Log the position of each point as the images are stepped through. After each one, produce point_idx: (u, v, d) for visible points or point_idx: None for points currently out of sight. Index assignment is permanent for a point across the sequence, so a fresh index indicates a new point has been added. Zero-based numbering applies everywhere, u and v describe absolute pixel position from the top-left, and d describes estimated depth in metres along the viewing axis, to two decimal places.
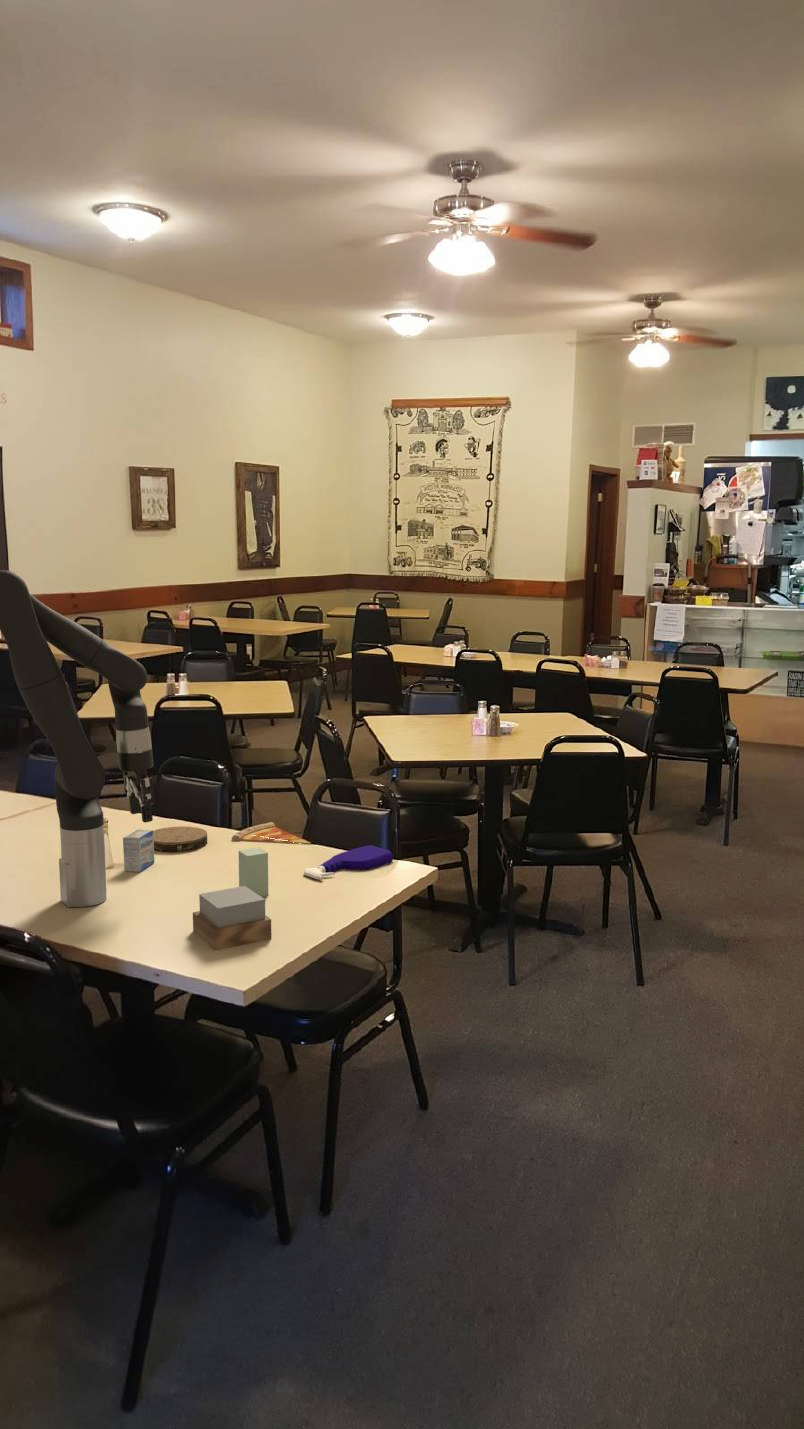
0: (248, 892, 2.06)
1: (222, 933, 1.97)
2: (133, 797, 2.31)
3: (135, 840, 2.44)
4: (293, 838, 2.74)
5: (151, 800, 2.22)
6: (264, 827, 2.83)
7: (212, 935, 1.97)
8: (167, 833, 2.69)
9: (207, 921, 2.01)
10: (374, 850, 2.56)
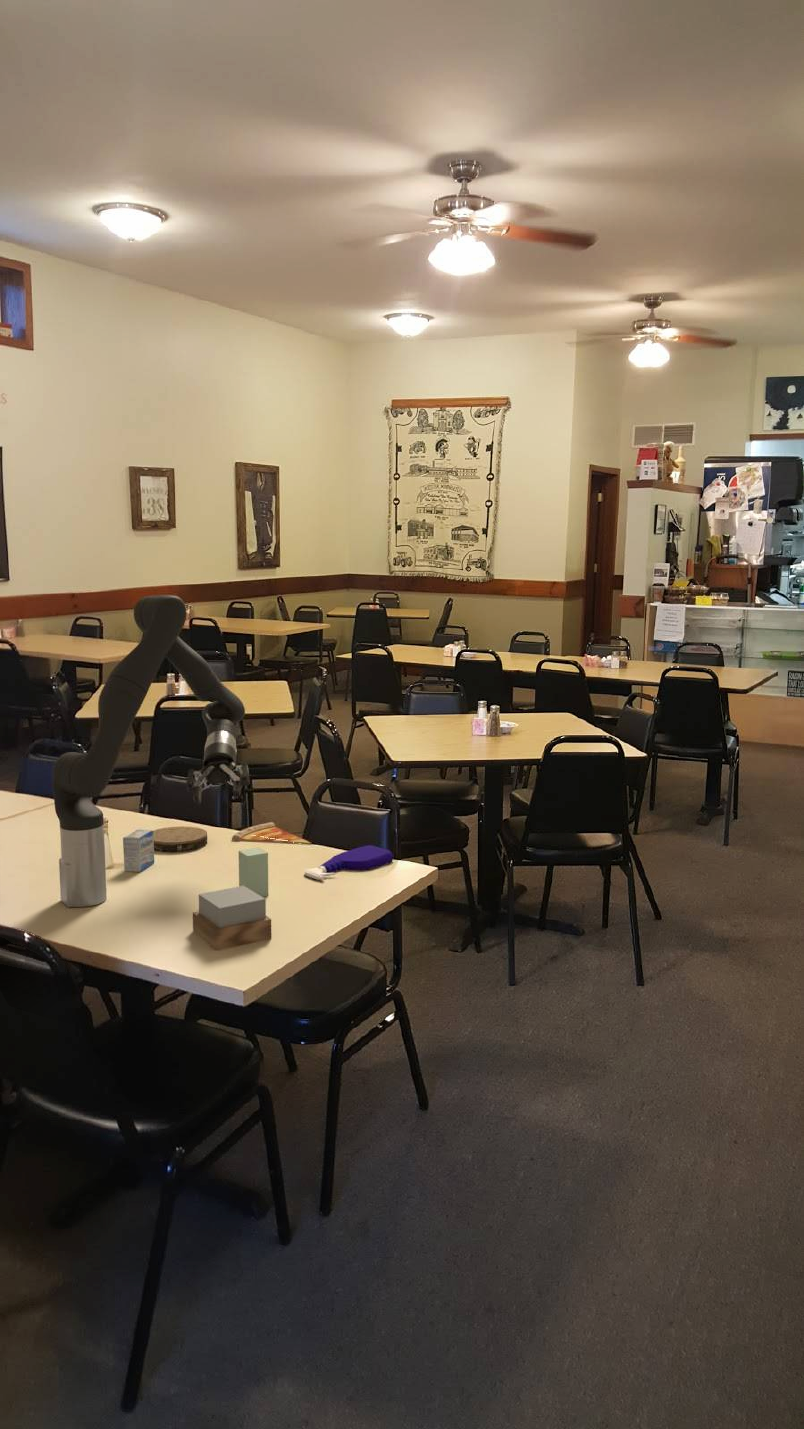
0: (247, 891, 2.06)
1: (222, 933, 1.97)
2: (199, 788, 2.31)
3: (135, 840, 2.44)
4: (293, 838, 2.74)
5: None
6: (264, 827, 2.83)
7: (212, 935, 1.97)
8: (167, 833, 2.69)
9: (207, 921, 2.01)
10: (374, 850, 2.56)
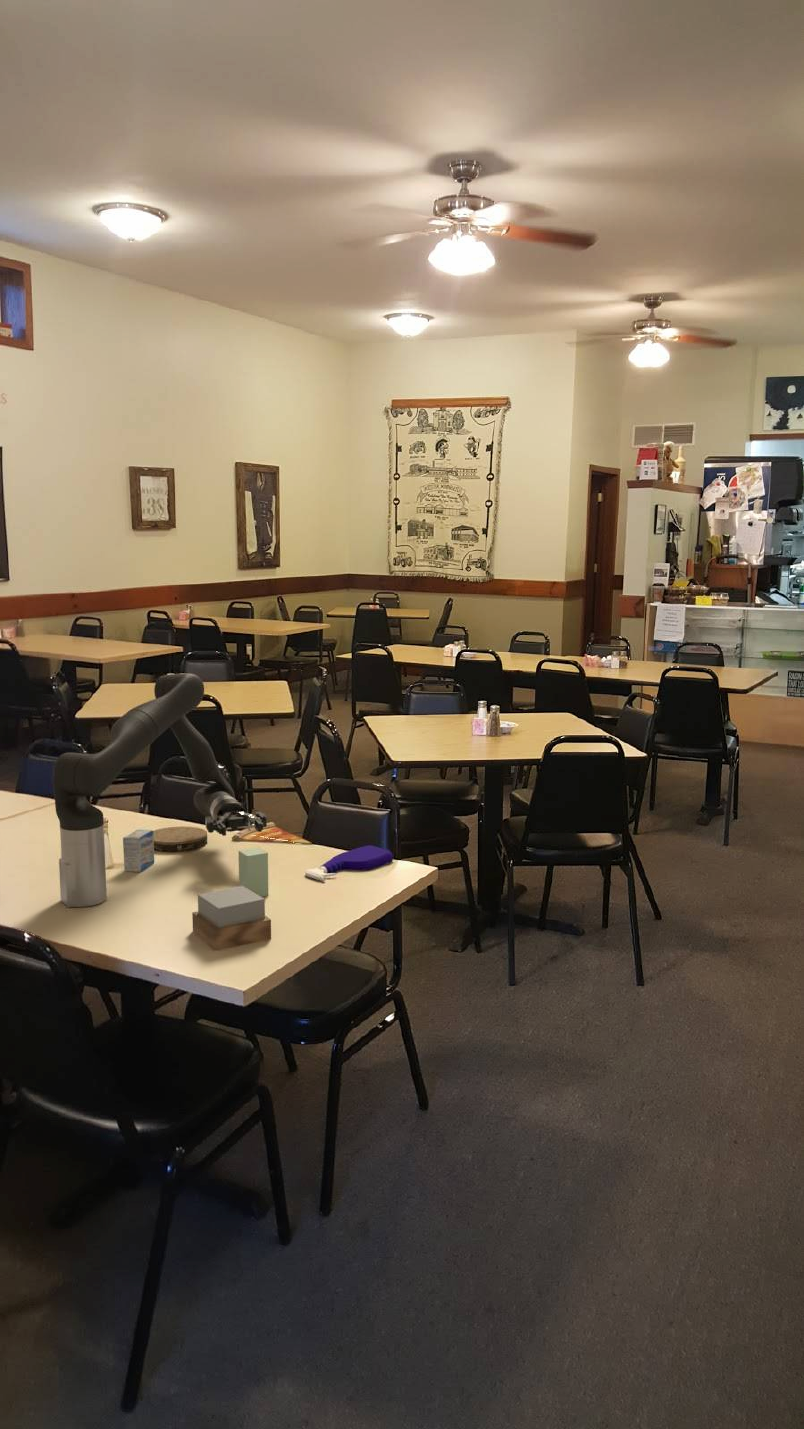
0: (246, 891, 2.07)
1: (222, 933, 1.97)
2: None
3: (135, 840, 2.44)
4: (293, 838, 2.74)
5: None
6: (264, 827, 2.83)
7: (212, 935, 1.97)
8: (167, 833, 2.69)
9: (207, 921, 2.01)
10: (374, 850, 2.56)
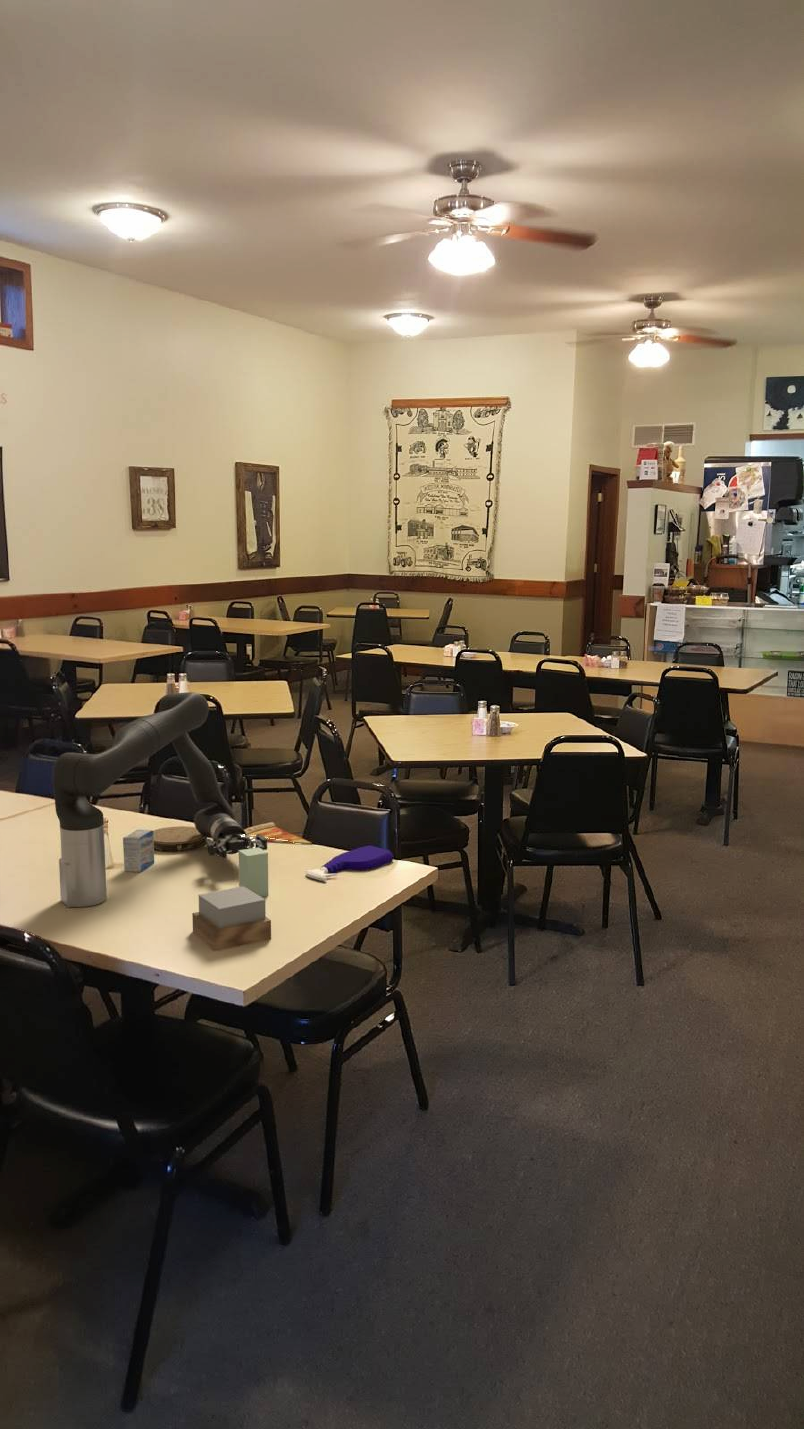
0: (247, 892, 2.07)
1: (222, 934, 1.97)
2: None
3: (135, 840, 2.44)
4: (294, 838, 2.74)
5: None
6: (264, 827, 2.83)
7: (212, 936, 1.97)
8: (167, 833, 2.69)
9: (207, 922, 2.01)
10: (374, 850, 2.56)
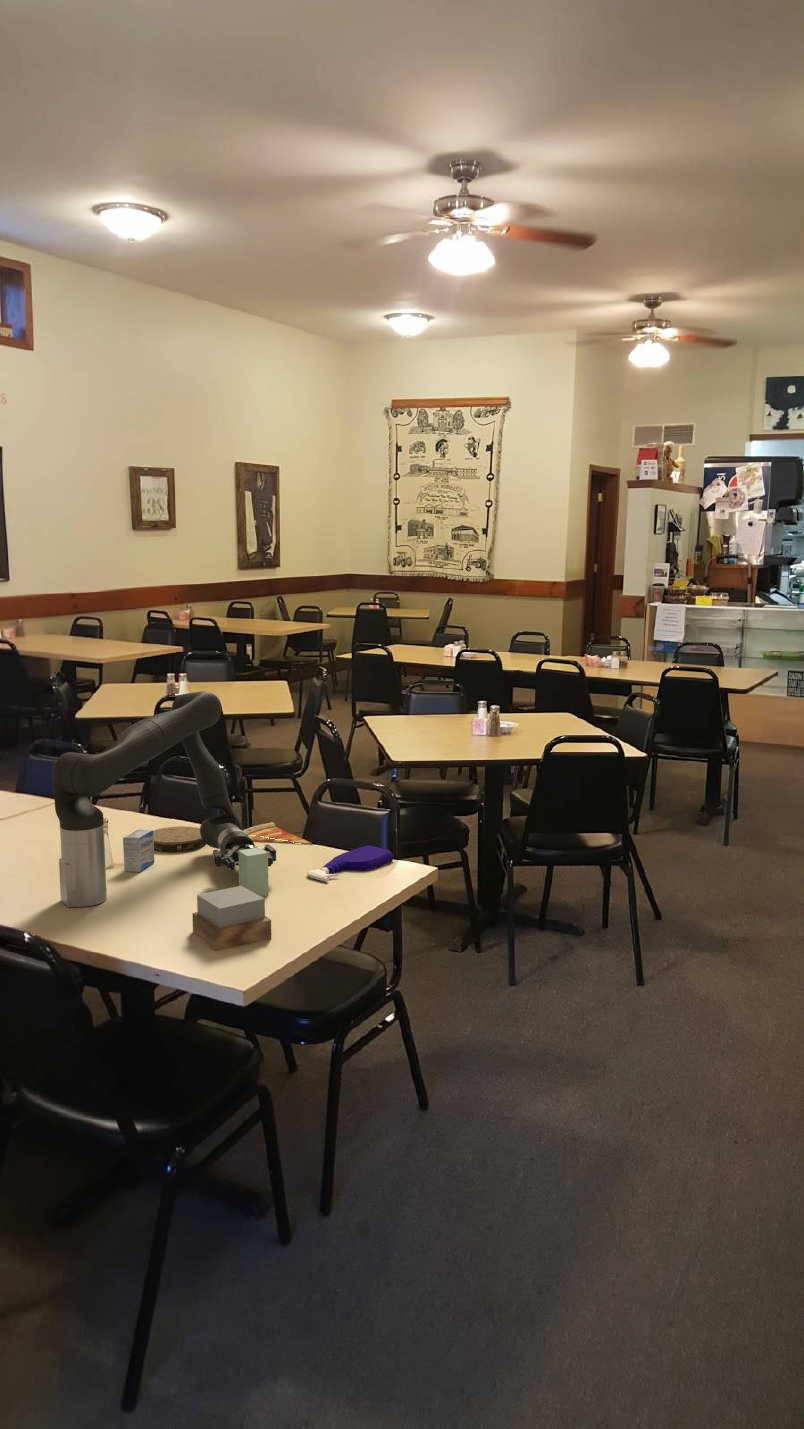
0: (246, 891, 2.07)
1: (222, 934, 1.97)
2: None
3: (135, 840, 2.44)
4: (294, 838, 2.74)
5: None
6: (265, 827, 2.83)
7: (212, 936, 1.97)
8: (167, 833, 2.69)
9: (207, 922, 2.01)
10: (374, 850, 2.56)
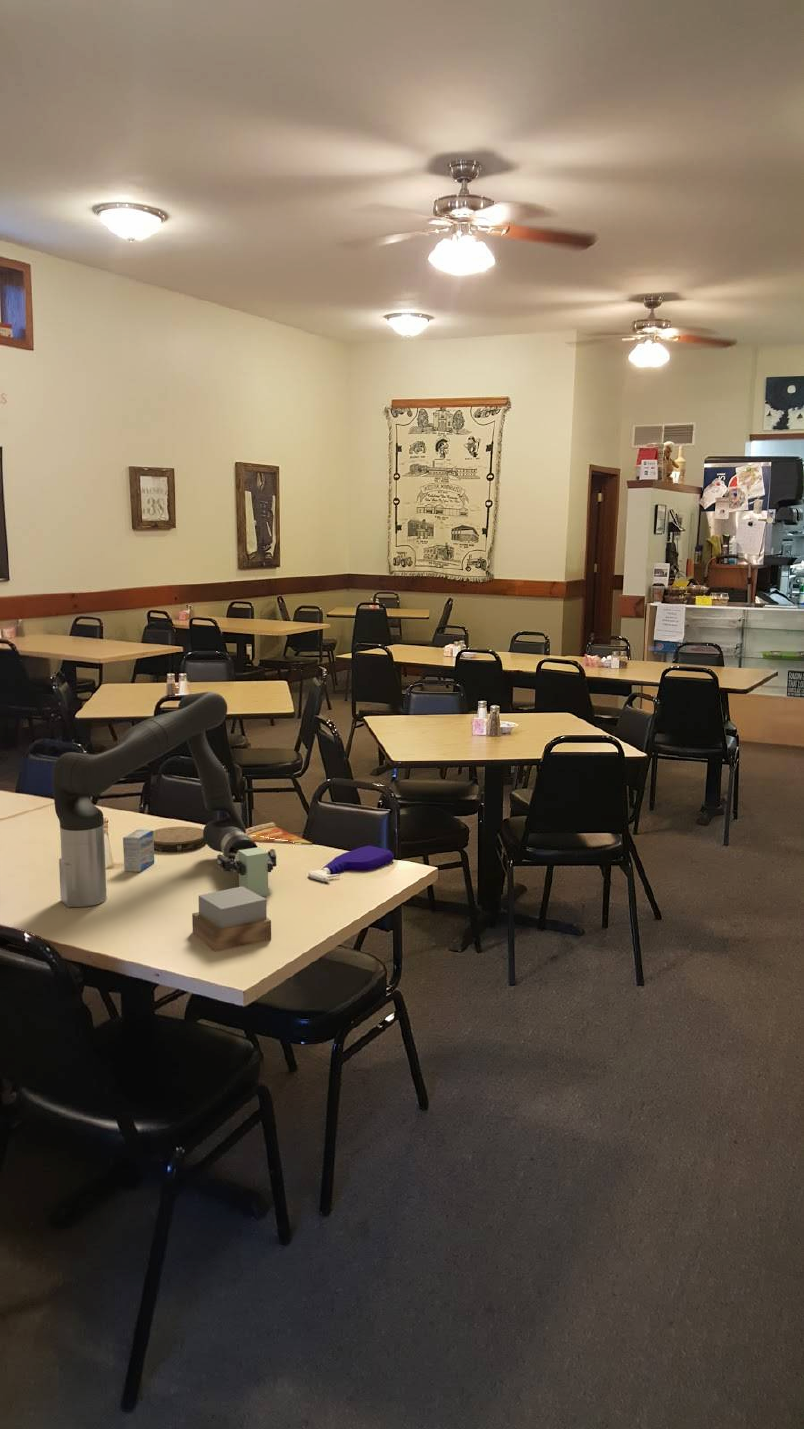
0: (247, 892, 2.06)
1: (222, 934, 1.96)
2: None
3: (135, 840, 2.44)
4: (294, 838, 2.74)
5: None
6: (265, 827, 2.83)
7: (212, 936, 1.97)
8: (167, 833, 2.69)
9: (207, 922, 2.00)
10: (374, 850, 2.56)
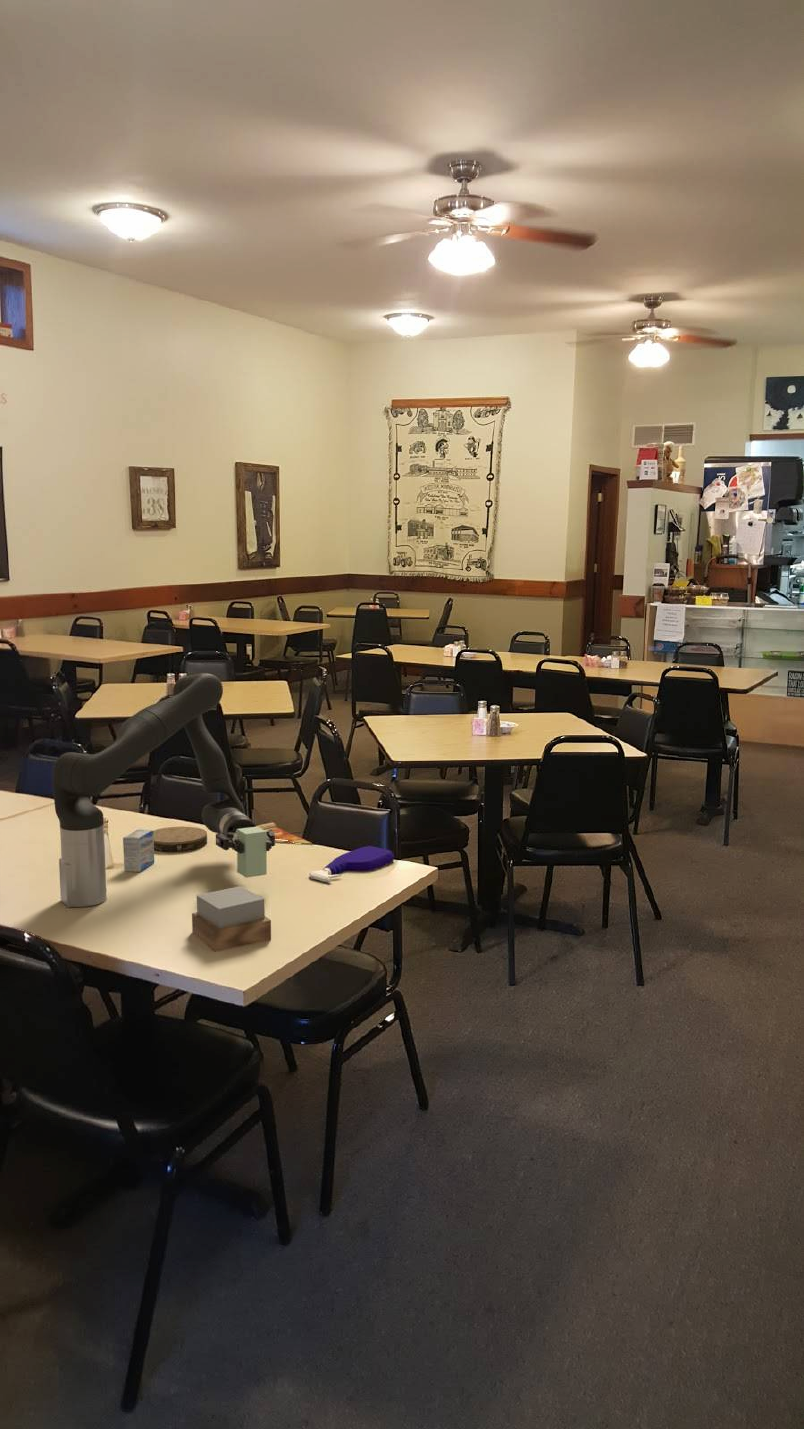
0: (245, 892, 2.06)
1: (222, 934, 1.96)
2: None
3: (135, 840, 2.44)
4: (294, 838, 2.74)
5: None
6: (265, 827, 2.83)
7: (212, 936, 1.97)
8: (167, 833, 2.69)
9: (207, 922, 2.00)
10: (374, 850, 2.56)
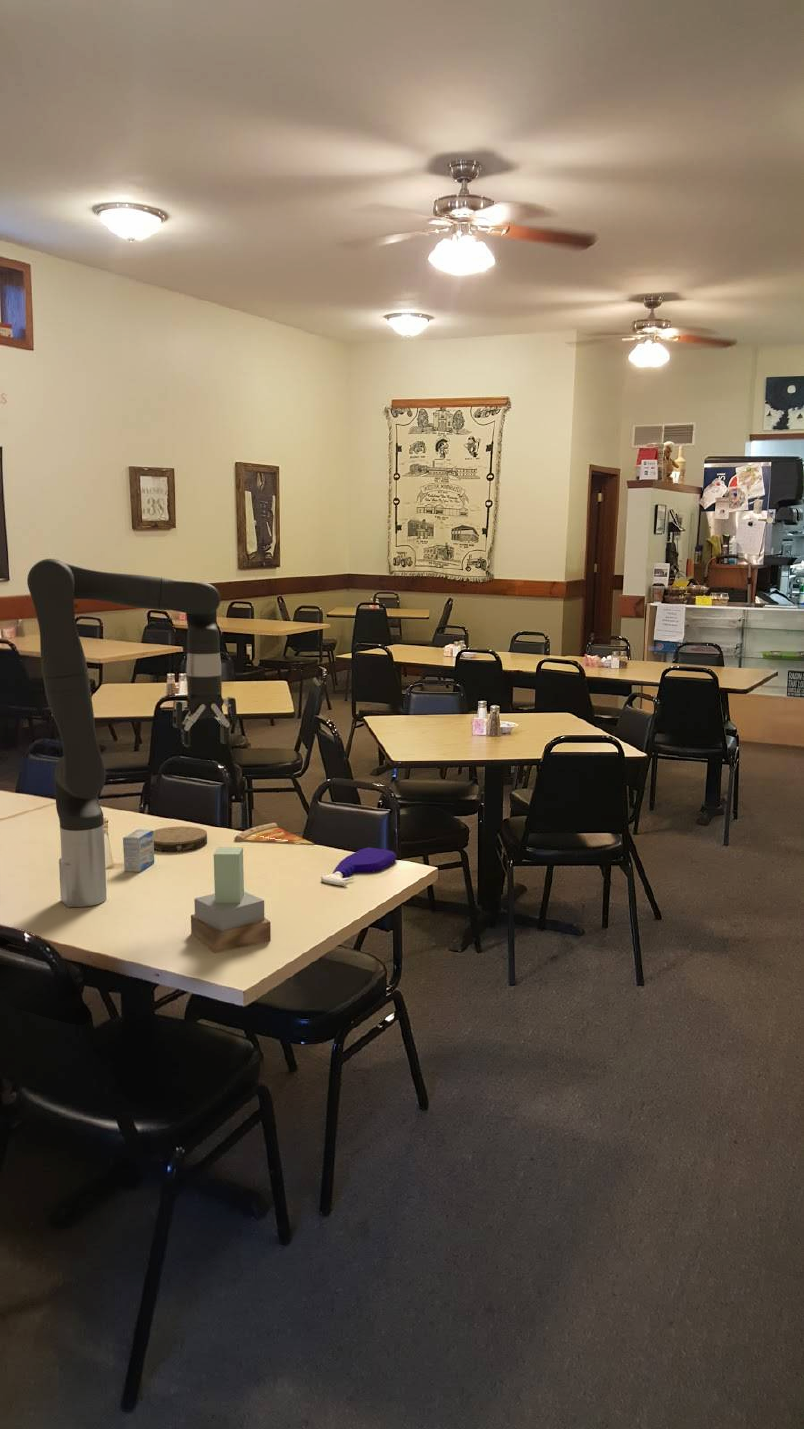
0: None
1: (221, 936, 1.96)
2: None
3: (135, 840, 2.44)
4: (296, 838, 2.74)
5: None
6: (267, 828, 2.82)
7: (211, 938, 1.96)
8: (167, 833, 2.69)
9: (206, 924, 1.99)
10: (376, 851, 2.55)
